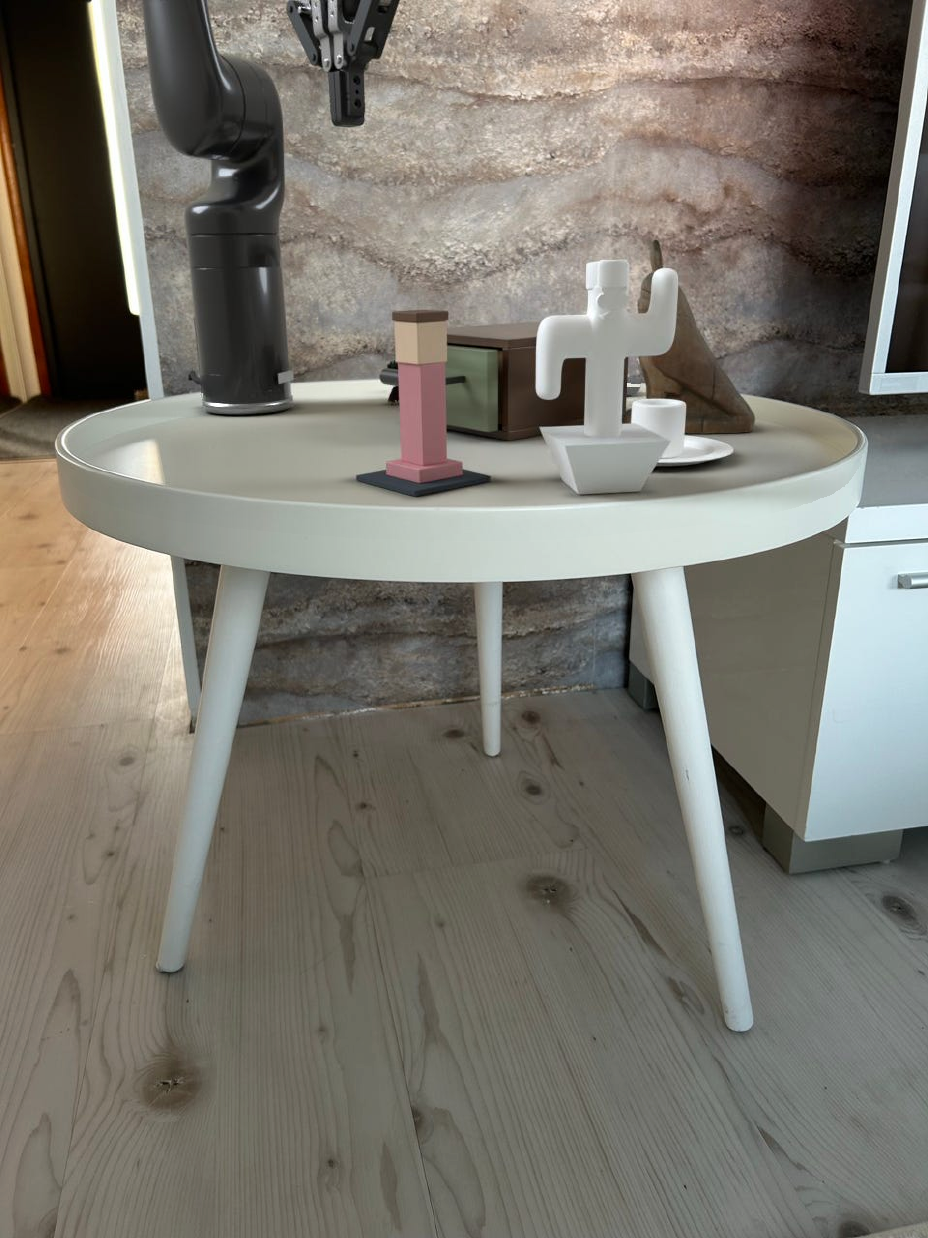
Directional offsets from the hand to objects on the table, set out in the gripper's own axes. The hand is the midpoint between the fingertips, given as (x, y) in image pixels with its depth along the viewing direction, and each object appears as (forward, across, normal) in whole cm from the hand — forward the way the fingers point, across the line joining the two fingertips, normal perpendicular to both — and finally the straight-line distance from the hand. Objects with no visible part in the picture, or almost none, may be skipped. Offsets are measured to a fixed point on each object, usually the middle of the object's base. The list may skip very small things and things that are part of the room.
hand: (348, 125), depth 78 cm
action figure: (+25, -14, +22) cm, 36 cm away
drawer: (+24, +2, +12) cm, 27 cm away
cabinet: (+25, +2, +17) cm, 30 cm away
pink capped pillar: (+25, +16, -6) cm, 30 cm away
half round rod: (+25, -9, +33) cm, 42 cm away
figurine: (+25, +26, +2) cm, 36 cm away
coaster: (+25, +16, -6) cm, 30 cm away
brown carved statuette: (+25, +16, +25) cm, 39 cm away
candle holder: (+25, +22, +13) cm, 36 cm away
